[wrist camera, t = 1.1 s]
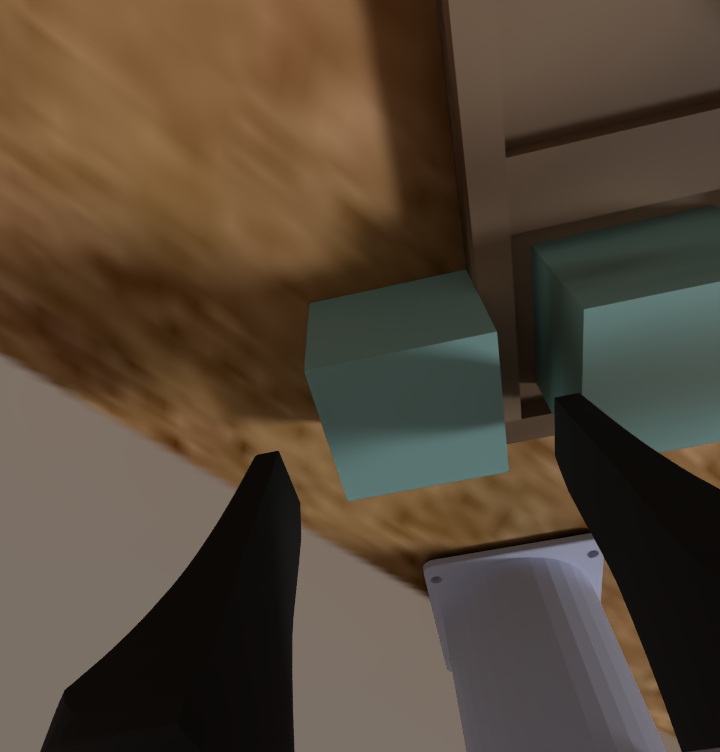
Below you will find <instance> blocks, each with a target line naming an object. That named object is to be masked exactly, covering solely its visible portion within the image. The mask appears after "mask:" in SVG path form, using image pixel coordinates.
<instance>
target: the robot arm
mask: <svg viewBox="0 0 720 752" xmlns="http://www.w3.org/2000/svg"><path fill="white" fill-rule="evenodd" d="M554 415H555V457H556V460H557V462H558V465H559V468H560V471H561V473H562V476H563V478H564V481H565V483H566V486H567V488H568V491H569V493H570V495H571V497H572V499H573V501H574V502H575V504H576V506H577V508H578V510H579V512H580V514H581V516H582V517H583V519H584V521H585V523H586V525H587V527H588V529H589V530H590V532H591V533H588V534H582V535H576V536H571V537H565V538H559V539H553V540H547V541H541V542H535V543H529V544H523V545H517V546H512V547H506V548H500V549H494V550H488V551H482V552H476V553H470V554H464V555H458V556H453V557H447V558H441V559H435V560H430V561H428V562H426V563H425V564H424V566H423V572H424V577H425V581H426V585H427V589H428V593H429V597H430V601H431V605H432V610H433V613H434V618H435V622H436V626H437V629H438V633H439V638H440V642H441V646H442V650H443V654H444V658H445V662H446V666H447V669H448V670H449V671H451V672H453V678H454V684H455V689H456V695H457V700H458V706H459V712H460V717H461V723H462V729H463V734H464V740H465V746H466V751H467V752H667V751H666V749H665V747H664V745H663V743H662V740H661V738H660V736H659V733H658V731H657V729H656V727H655V724H654V722H653V720H652V718H651V715H650V713H649V711H648V709H647V706H646V704H645V702H644V700H643V697H642V695H641V693H640V691H639V688H638V686H637V684H636V682H635V679H634V677H633V675H632V673H631V670H630V668H629V666H628V664H627V661H626V659H625V657H624V655H623V652H622V650H621V648H620V646H619V643H618V641H617V639H616V637H615V634H614V632H613V630H612V628H611V625H610V623H609V621H608V619H607V616H606V614H605V612H604V610H603V607H602V605H601V590H602V574H603V558H605V560H606V562H607V564H608V566H609V568H610V570H611V572H612V574H613V576H614V578H615V580H616V582H617V584H618V587H619V589H620V591H621V594H622V596H623V599H624V601H625V603H626V606H627V608H628V611H629V613H630V615H631V618H632V620H633V623H634V625H635V628H636V630H637V633H638V635H639V638H640V640H641V643H642V645H643V648H644V650H645V653H646V655H647V658H648V661H649V663H650V666H651V669H652V671H653V674H654V677H655V679H656V682H657V685H658V687H659V690H660V693H661V695H662V698H663V700H664V703H665V706H666V709H667V712H668V714H669V717H670V720H671V723H672V726H673V728H674V731H675V734H676V737H677V740H678V743H679V745H680V748H681V751H682V752H720V489H718V488H716V487H715V486H713V485H711V484H709V483H707V482H706V481H704V480H702V479H700V478H698V477H696V476H695V475H693V474H691V473H690V472H688V471H686V470H685V469H683V468H681V467H680V466H678V465H677V464H675V463H673V462H672V461H670V460H669V459H667V458H666V457H664V456H663V455H661V454H660V453H658V452H657V451H655V450H654V449H652V448H651V447H649V446H648V445H647V444H645V443H644V442H642V441H641V440H640V439H638V438H637V437H636V436H634V435H633V434H631V433H630V432H629V431H627V430H626V429H625V428H623V427H622V426H621V425H619V424H618V423H617V422H616V421H614V420H613V419H612V418H610V417H609V416H608V415H607V414H605V413H604V412H603V411H602V410H600V409H599V408H598V407H597V406H595V405H594V404H593V403H592V402H590V401H589V400H588V399H587V398H585V397H584V396H583V395H581V394H580V393H575V394H570V395H565V396H559V397H554ZM300 545H301V514H300V501H299V499H298V496H297V494H296V492H295V489H294V487H293V484H292V482H291V480H290V477H289V475H288V472H287V470H286V468H285V465H284V463H283V460H282V458H281V455H280V453H279V451H275V452H270V453H264V454H259V455H256V456H255V458H254V459H253V461H252V463H251V465H250V467H249V469H248V470H247V472H246V474H245V476H244V478H243V480H242V481H241V483H240V485H239V487H238V489H237V490H236V492H235V494H234V496H233V498H232V499H231V501H230V503H229V505H228V506H227V508H226V509H225V511H224V513H223V514H222V516H221V518H220V520H219V521H218V523H217V525H216V526H215V527H214V529H213V530H212V532H211V534H210V535H209V537H208V538H207V540H206V541H205V543H204V544H203V546H202V547H201V549H200V550H199V552H198V553H197V554H196V556H195V557H194V559H193V560H192V561H191V563H190V564H189V565H188V567H187V568H186V570H185V571H184V572H183V573H182V575H181V576H180V577H179V578H178V580H177V581H176V582H175V583H174V585H173V586H172V587H171V588H170V589H169V591H167V593H166V594H165V595H164V596H163V597H162V598H161V599H160V600H159V602H158V603H157V604H156V605H155V606H154V607H153V608H152V610H151V611H150V612H149V613H148V614H147V615H146V616H145V617H144V618H143V619H142V620H141V621H140V622H139V623H138V624H137V625H136V627H134V628H133V629H132V630H131V631H130V633H129V634H127V635H126V636H125V637H124V638H123V639H122V640H121V641H120V642H119V643H118V644H117V645H116V646H115V647H114V648H113V649H112V650H111V651H110V652H108V653H107V654H106V655H105V656H104V657H103V658H102V659H101V660H99V661H98V662H97V663H96V664H95V665H94V666H93V667H91V668H90V669H89V670H88V671H87V672H86V673H84V674H83V675H82V676H81V677H80V678H79V679H78V680H76V681H75V682H74V683H73V684H72V685H70V686H69V687H68V688H67V689H66V690H65V691H64V693H63V695H62V698H61V700H60V702H59V705H58V707H57V709H56V712H55V714H54V717H53V719H52V722H51V725H50V727H49V730H48V733H47V736H46V738H45V741H44V743H43V746H42V749H41V751H40V752H294V728H293V691H292V690H293V689H292V688H293V687H292V632H293V616H294V605H295V596H296V586H297V575H298V566H299V556H300Z"/></svg>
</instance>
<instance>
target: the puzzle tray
mask: <svg viewBox="0 0 720 752" xmlns="http://www.w3.org/2000/svg"><path fill="white" fill-rule="evenodd" d="M436 1H437V10H438V19H439V27H440V36H441V45H442V54H443V63H444V72H445V81H446V90H447V99H448V107H449V116H450V125H451V134H452V143H453V152H454V161H455V170H456V179H457V187H458V196H459V205H460V214H461V223H462V232H463V241H464V250H465V258H466V267H467V272H468V274H469V276H470V278H471V280H472V282H473V284H474V286H475V288H476V290H477V292H478V294H479V296H480V298H481V300H482V302H483V304H484V306H485V308H486V310H487V312H488V314H489V316H490V318H491V320H492V323H493V325H494V327H495V329H496V331H497V337H498V349H499V361H500V373H501V384H502V396H503V408H504V419H505V431H506V443H507V444H510V443H515V442H521V441H526V440H532V439H537V438H542V437H548V436H553V435H555V415H554V397H559V396H565V395H570V394H575V393H580V394H581V395H583V396H584V397H585V398H587V399H588V400H589V401H590V402H592V403H593V404H594V405H595V406H597V407H598V408H599V409H600V410H602V411H603V412H604V413H605V414H607V415H608V416H609V417H610V418H612V419H613V420H614V421H616V422H617V423H618V424H619V425H621V426H622V427H623V428H625V429H626V430H627V431H629V432H630V433H631V434H633V435H634V436H636V437H637V438H638V439H640V440H641V441H642V442H644V443H645V444H647V445H648V446H649V447H651V448H652V449H654V450H655V451H657V452H658V453H659V452H665V451H670V450H676V449H681V448H687V447H692V446H698V445H703V444H709V443H714V442H720V0H436Z"/></svg>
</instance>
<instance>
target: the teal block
mask: <svg viewBox="0 0 720 752" xmlns="http://www.w3.org/2000/svg"><path fill="white" fill-rule="evenodd" d="M304 373H305V376H306V379H307V382H308V385H309V388H310V391H311V394H312V397H313V400H314V403H315V406H316V409H317V412H318V415H319V418H320V421H321V424H322V427H323V430H324V433H325V436H326V439H327V441H328V444H329V447H330V450H331V453H332V456H333V459H334V462H335V465H336V468H337V471H338V474H339V477H340V480H341V483H342V486H343V489H344V492H345V495H346V498H347V501H351V500H357V499H362V498H368V497H373V496H379V495H384V494H390V493H395V492H401V491H406V490H412V489H417V488H423V487H428V486H434V485H439V484H445V483H450V482H456V481H461V480H466V479H472V478H477V477H483V476H488V475H494V474H499V473H505V472H509V466H508V455H507V443H506V431H505V419H504V408H503V396H502V384H501V373H500V361H499V349H498V337H497V331H496V329H495V327H494V325H493V323H492V320H491V318H490V316H489V314H488V312H487V310H486V308H485V306H484V304H483V302H482V300H481V298H480V296H479V294H478V292H477V290H476V288H475V286H474V284H473V282H472V280H471V278H470V276H469V274H468V272H467V270H466V269H465V270H461V271H456V272H451V273H447V274H442V275H438V276H433V277H428V278H424V279H419V280H415V281H410V282H405V283H401V284H396V285H391V286H387V287H382V288H378V289H373V290H368V291H364V292H359V293H355V294H350V295H345V296H341V297H336V298H332V299H327V300H322V301H318V302H313V303H309V315H308V327H307V339H306V351H305V363H304Z"/></svg>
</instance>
